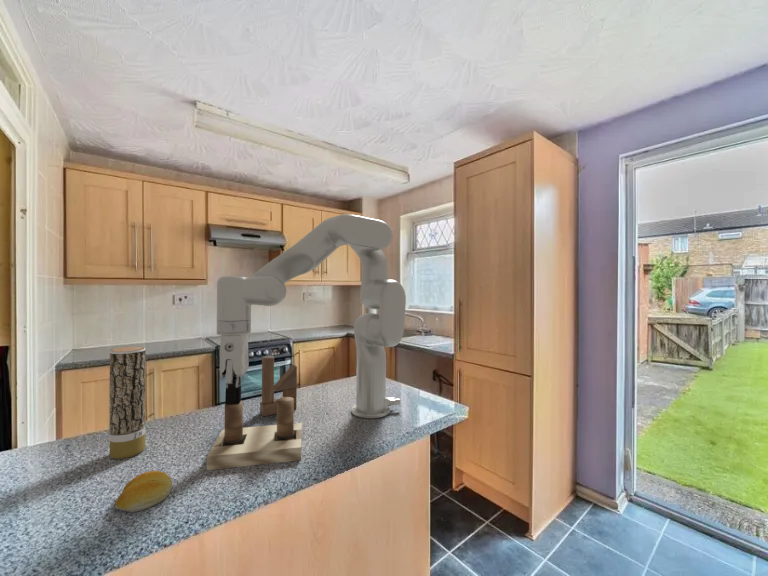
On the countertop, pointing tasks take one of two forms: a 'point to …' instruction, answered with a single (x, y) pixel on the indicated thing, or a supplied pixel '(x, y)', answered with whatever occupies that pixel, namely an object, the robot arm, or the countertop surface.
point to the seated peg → (285, 418)
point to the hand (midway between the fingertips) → (233, 403)
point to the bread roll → (144, 491)
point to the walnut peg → (234, 424)
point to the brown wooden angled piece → (276, 386)
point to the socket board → (255, 448)
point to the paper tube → (127, 401)
